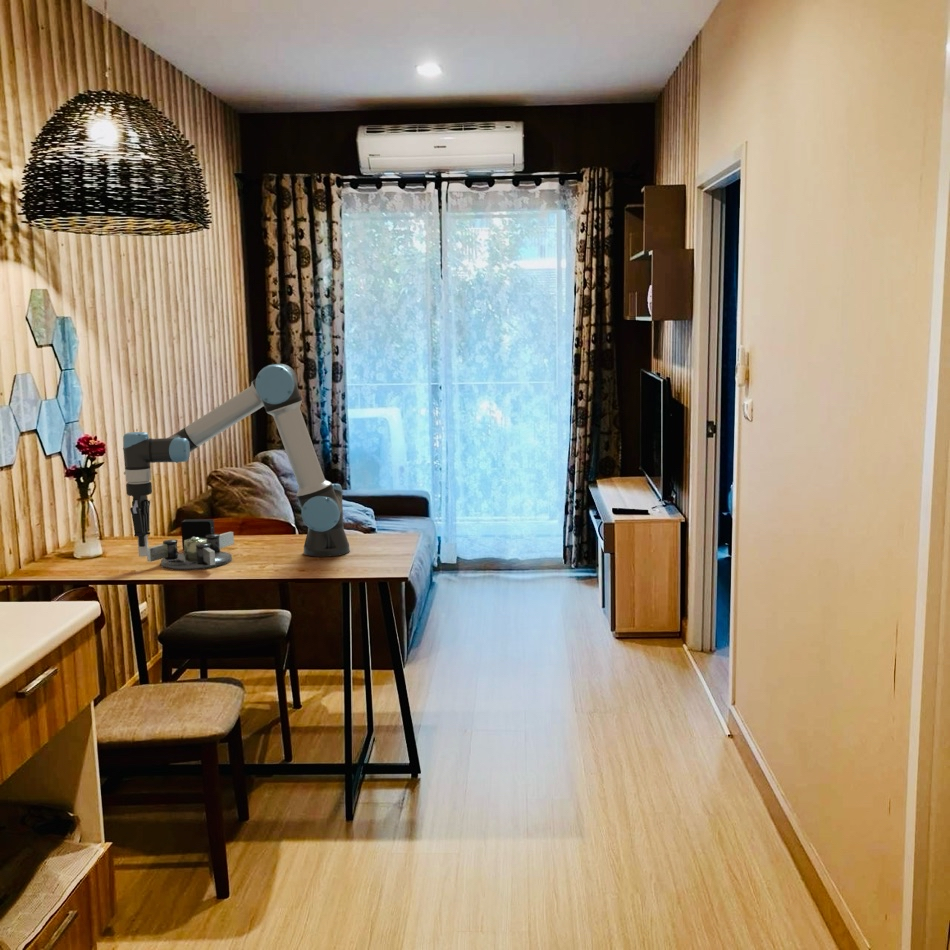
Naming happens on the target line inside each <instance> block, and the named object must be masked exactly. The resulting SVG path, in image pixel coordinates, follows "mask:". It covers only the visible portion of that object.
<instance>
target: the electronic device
mask: <svg viewBox="0 0 950 950" xmlns="http://www.w3.org/2000/svg"><path fill="white" fill-rule="evenodd" d="M180 528H181V542H182V543H181V545H182V550H183V551H185V548H184V540H186V539H191V538H192V537H199V538H206V535H209V534H215V521H214V519H211V518H203V519H202V518H201V519H200V518H197V519H194V518H193V519H184V520H182V521H181V523H180ZM206 539H207V538H206Z"/></svg>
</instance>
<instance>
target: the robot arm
mask: <svg viewBox="0 0 950 950" xmlns="http://www.w3.org/2000/svg"><path fill="white" fill-rule="evenodd" d="M298 385H299V379H298V375H297V373H296V371H295V370H294V369H293V368H292V367H291V366H289V365H287V364H285V363H273V364H268V365H266V366H264V367H263V368H261V370H260V371H258V373H257V375H256V378H255V379H254V380H252V381H251V383H250V386H249V387H247V388H246V389H244V390H242V391H240V392H239V393H238V394H236V395H235V396H233V397H231V398H229V399H228V400H226V401H225V402H223V403H222V404H220V405H218V406H217V407H215V408H214V409H212V410H211V411H209V412H207V413H206V414H204V415H203V416H201V417H200V418H198V419H196V420H194V421H193V422H191V423H190V424H188V425H186V426H185V427H183V428H182V429H180V430H178V431H176V432H175V433H174V434H172V435H170V436H168V437H163V438H152V437H149V433H148V432H145V431H131V432H126V433H125V434H124V435H123V436H122V437H123V438H122V442H123V444H122V447H123V448H122V450H123V461H124V472H123V475H125V482H127V483H126V484H125V488H126V489H125V490H126V495H127V496H129V497H132V500H131V506H132V507H131V506H130V509H129V510H130V513H131V518H132V524H133V532H134V537H136V538H137V549H138V557H147V549H146V548H149V539H148V536H149V535H151V531H150V530H151V529H150V507H151V506H150V505H151V500H149V499H148V496H149V495H151V494H152V493H153V486H152V484H153V483H152V482H151V481H152V470H151V469H152V468H151V463H153V464H155V463H176V464H177V463H181V462H183V463H184V462H185V463H186V462H188V461H189V460H190V455H191V452H193V451H194V450H195V449H197V448H199V447H200V446H202V445H203V444H205V443H207V442H209V441H210V440H211V439H213V438H215V437H216V436H219V435H220V434H222V433H223V432H225V431H226V430H228V429H229V428H230V427H233V426H235V425H236V424H237V423H239V422H240V421H242V420H244V419H246V418H247V417H248V416H250V415H251V414H253V413H255V412H257V411H258V410H260V409H261V408H263V407H264V409H265V412H266V413H267V414H268V415H271V416H272V417H273V420H274V423H275V425H276V427H277V430H278V431H277V432H278V433H279V436H280V439H281V443H282V445H283V447H284V450H285V453H286V456H287V458H288V461H289V464H290V467H291V470H292V473H293V475H294V479H295V481H296V484H297V486H298V490H297V492H296V495H295V496H296V498H297V501H298V505H299V507H300V509H301V512H300V513H301V519H302V521H303V524H305V526H307V533H306V536H305V540H304V545H303V554H304V555H306V556H309V557H314V558H315V557H316V558H317V557H318V558H322V557H323V558H325V557H328V558H329V557H335V556H336V557H337V556H338V557H339V556H342V555H345V554H347V553H349V552H350V548H351V547H350V543H349V541H348V537H347V535H346V532H345V528H344V509H343V489H342V485H341V484H340V483H332V482H331V481H329V480H327V479H326V478H325V475H324V471H323V470H322V467H321V464H320V461H319V458H318V456H317V452H316V450H315V447H314V445H313V442H312V439H311V436H310V432H309V430H308V427H307V424H306V422H305V418H304V415H303V414H302V411H301V405H302V403H303V399H302V396H301V392H300V390H299V387H298Z"/></svg>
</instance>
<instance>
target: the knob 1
mask: <svg viewBox="0 0 950 950" xmlns="http://www.w3.org/2000/svg"><path fill="white" fill-rule="evenodd" d="M146 549H147V556H146V560H147V561H146V562H152V563H153V562H155V561H158V560H162V559H163V558H165V559H166V560H172V559H177V558H178V554H179V552H178V539H175V538H174V539H164V540H162V543H161V544H157V545H153V546H148V548H146Z"/></svg>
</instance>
